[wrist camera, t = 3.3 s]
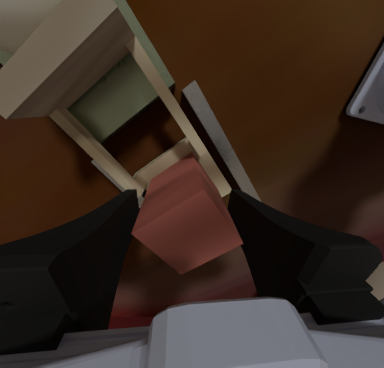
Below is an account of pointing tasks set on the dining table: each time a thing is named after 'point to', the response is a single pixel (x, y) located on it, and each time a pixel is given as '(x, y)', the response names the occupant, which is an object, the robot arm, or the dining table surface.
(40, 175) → the dining table surface
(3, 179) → the dining table surface
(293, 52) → the dining table surface
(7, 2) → the ball
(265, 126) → the dining table surface
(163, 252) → the carriage
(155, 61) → the track
